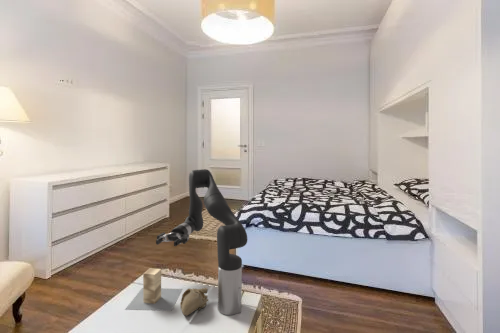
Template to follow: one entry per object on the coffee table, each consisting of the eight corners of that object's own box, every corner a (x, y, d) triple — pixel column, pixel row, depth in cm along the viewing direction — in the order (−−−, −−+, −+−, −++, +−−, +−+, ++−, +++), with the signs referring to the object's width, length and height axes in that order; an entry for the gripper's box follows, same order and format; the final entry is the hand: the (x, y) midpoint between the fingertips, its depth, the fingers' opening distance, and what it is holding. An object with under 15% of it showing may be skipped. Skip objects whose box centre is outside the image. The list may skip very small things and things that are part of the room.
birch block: (161, 297, 110) (161, 269, 109) (154, 303, 105) (154, 274, 105) (150, 295, 111) (150, 268, 110) (143, 302, 106) (143, 273, 105)
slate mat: (182, 289, 117) (182, 288, 117) (171, 311, 101) (171, 310, 101) (142, 289, 117) (142, 288, 117) (124, 310, 101) (124, 309, 101)
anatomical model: (199, 298, 95) (212, 283, 110) (171, 297, 97) (188, 282, 112) (199, 319, 95) (213, 301, 109) (172, 318, 97) (189, 300, 112)
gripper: (168, 224, 135) (151, 233, 119) (194, 226, 132) (180, 236, 116) (168, 238, 135) (151, 250, 119) (194, 240, 133) (180, 253, 117)
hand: (165, 243), depth 118 cm, fingers open, 8 cm apart
